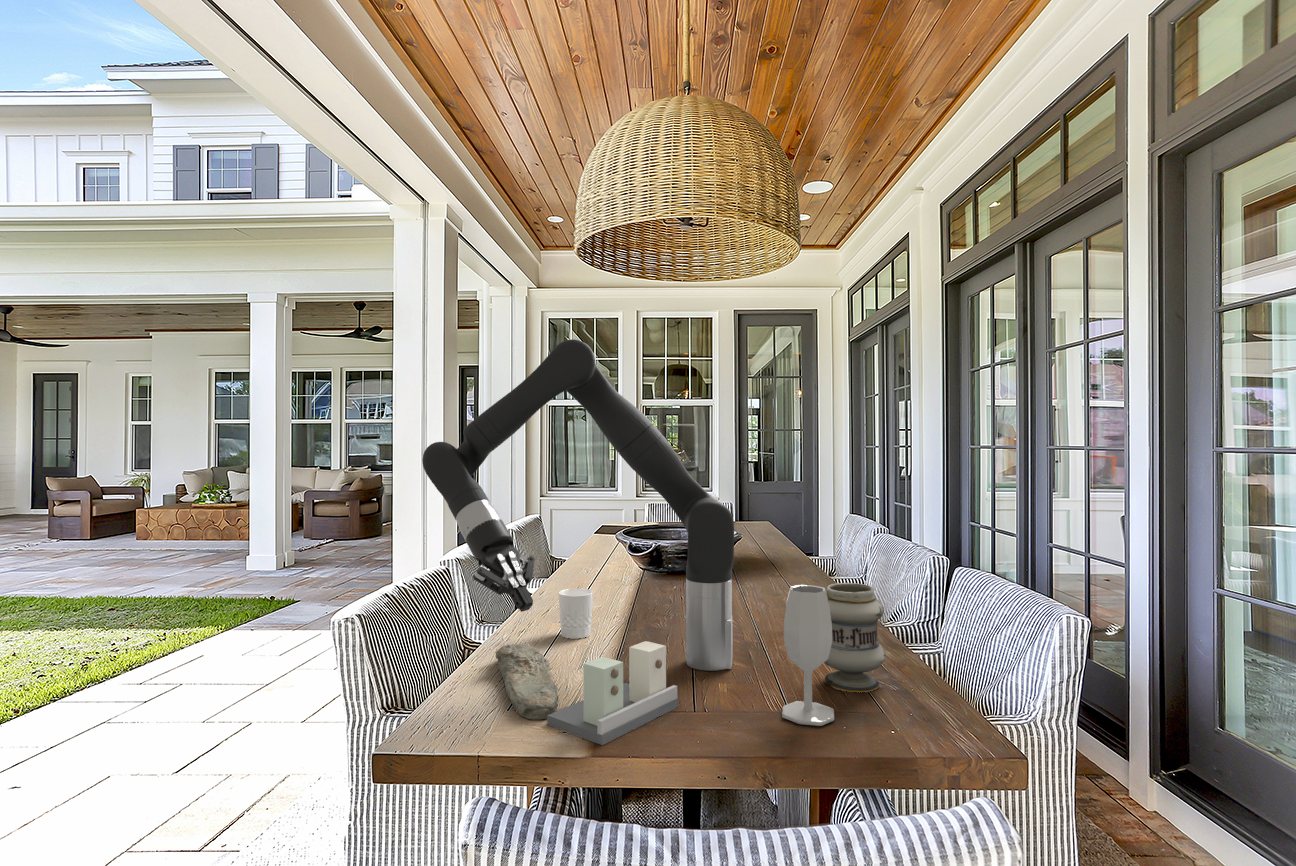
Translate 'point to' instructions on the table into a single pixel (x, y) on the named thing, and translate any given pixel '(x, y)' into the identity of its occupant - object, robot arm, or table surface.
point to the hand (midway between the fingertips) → (527, 608)
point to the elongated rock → (528, 681)
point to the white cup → (575, 612)
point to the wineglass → (808, 648)
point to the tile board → (614, 716)
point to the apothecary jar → (854, 637)
